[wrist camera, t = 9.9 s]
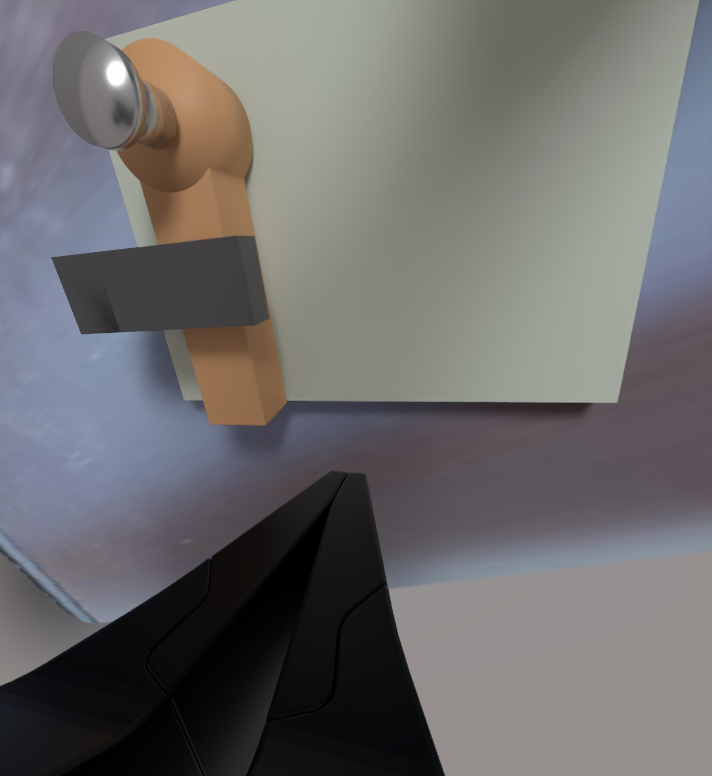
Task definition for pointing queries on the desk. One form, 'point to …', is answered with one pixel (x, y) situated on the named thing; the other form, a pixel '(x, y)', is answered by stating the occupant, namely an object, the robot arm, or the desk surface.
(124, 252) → the keeper
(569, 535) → the desk surface
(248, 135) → the link
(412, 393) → the base board
